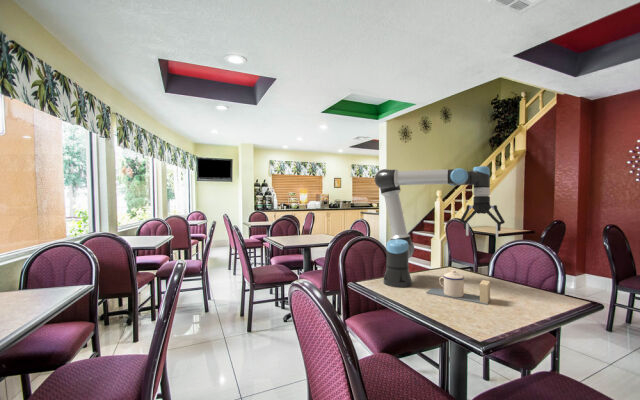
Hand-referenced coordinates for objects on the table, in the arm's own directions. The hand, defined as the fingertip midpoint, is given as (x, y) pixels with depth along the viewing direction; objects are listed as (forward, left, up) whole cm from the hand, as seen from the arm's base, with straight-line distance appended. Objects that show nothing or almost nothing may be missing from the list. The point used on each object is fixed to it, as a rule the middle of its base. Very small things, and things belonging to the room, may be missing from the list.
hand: (481, 236), depth 148 cm
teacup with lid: (-10, -22, -26) cm, 36 cm away
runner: (-7, -22, -27) cm, 36 cm away
